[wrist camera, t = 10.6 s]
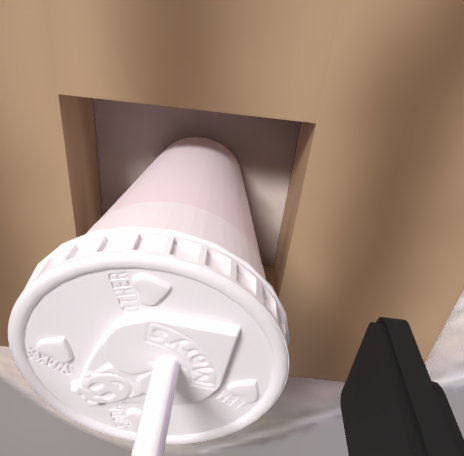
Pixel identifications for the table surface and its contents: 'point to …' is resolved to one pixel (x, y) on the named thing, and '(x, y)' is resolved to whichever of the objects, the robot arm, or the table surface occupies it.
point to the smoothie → (158, 311)
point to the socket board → (268, 106)
